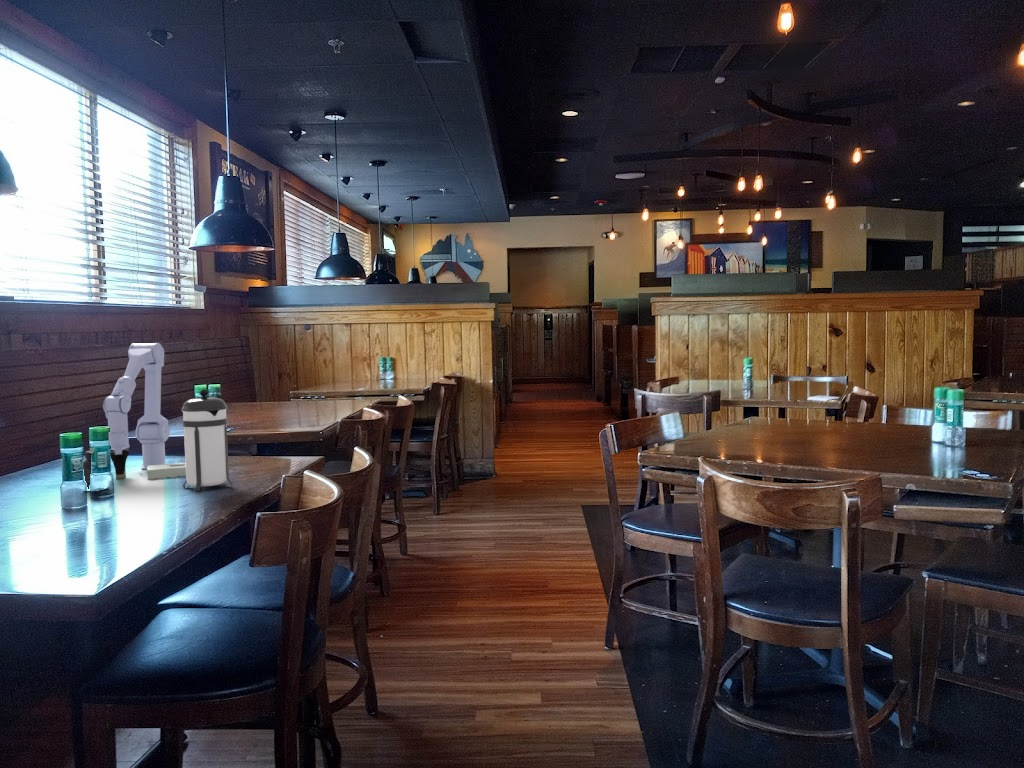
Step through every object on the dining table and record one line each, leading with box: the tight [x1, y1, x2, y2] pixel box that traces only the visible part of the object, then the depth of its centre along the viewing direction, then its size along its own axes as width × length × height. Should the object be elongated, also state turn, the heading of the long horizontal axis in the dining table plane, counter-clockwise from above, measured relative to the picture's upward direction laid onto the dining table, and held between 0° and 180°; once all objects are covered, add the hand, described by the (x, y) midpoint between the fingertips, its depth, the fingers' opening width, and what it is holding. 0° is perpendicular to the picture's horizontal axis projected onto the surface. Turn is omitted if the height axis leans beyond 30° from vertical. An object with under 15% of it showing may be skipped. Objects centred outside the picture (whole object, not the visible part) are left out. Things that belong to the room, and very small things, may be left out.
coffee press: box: [181, 389, 234, 493], centre depth 229 cm, size 17×16×30 cm
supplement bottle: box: [82, 449, 92, 489], centre depth 229 cm, size 7×7×12 cm
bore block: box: [146, 462, 186, 480], centre depth 253 cm, size 10×18×3 cm, turn 115°
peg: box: [114, 468, 127, 480], centre depth 248 cm, size 3×3×6 cm
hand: (120, 473), depth 248 cm, fingers open, 4 cm apart
